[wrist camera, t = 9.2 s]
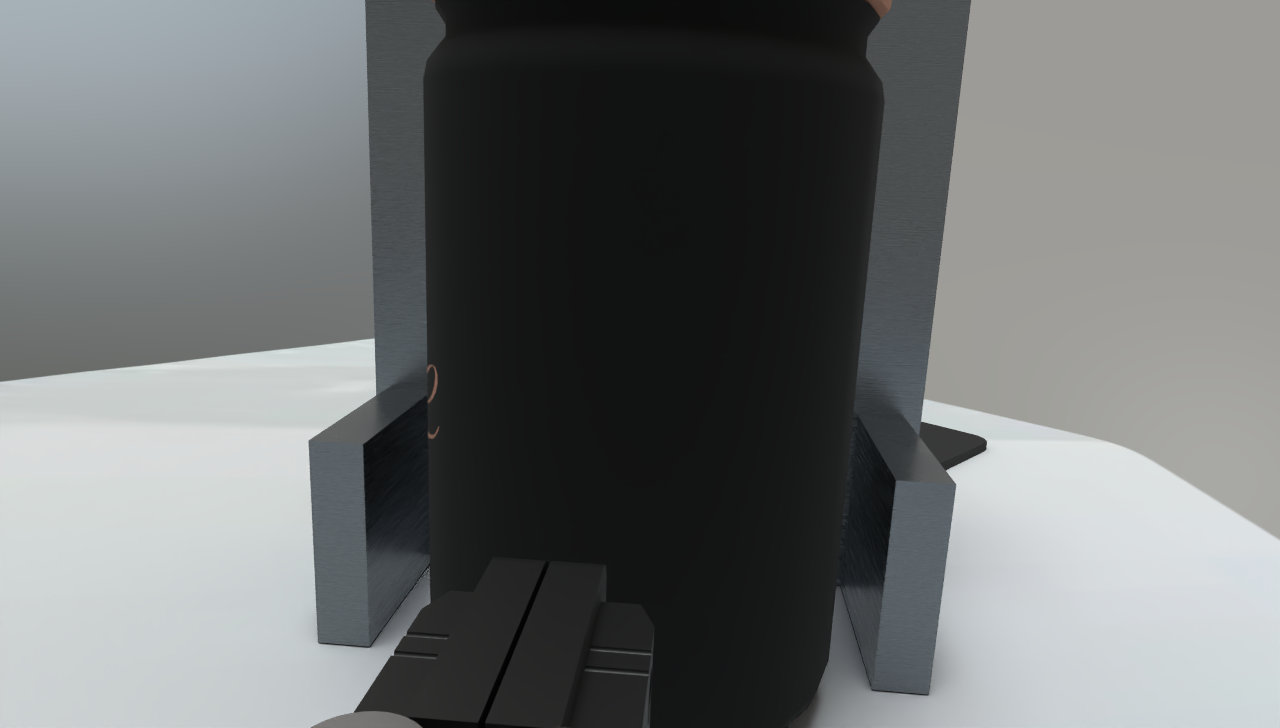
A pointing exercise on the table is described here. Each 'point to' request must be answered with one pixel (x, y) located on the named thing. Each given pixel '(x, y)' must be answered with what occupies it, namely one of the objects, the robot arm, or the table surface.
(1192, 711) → the table surface
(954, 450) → the phone
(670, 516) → the coffee jar
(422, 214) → the bracket
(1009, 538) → the table surface
